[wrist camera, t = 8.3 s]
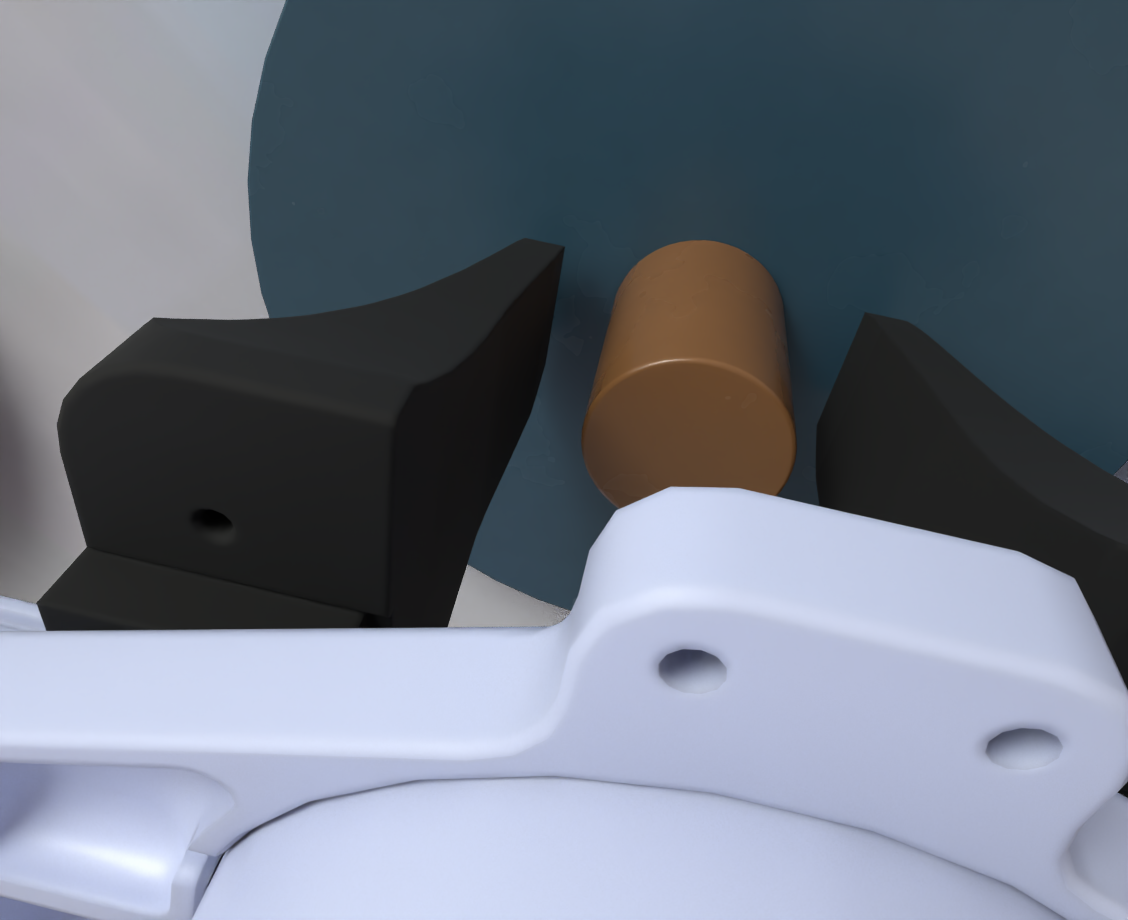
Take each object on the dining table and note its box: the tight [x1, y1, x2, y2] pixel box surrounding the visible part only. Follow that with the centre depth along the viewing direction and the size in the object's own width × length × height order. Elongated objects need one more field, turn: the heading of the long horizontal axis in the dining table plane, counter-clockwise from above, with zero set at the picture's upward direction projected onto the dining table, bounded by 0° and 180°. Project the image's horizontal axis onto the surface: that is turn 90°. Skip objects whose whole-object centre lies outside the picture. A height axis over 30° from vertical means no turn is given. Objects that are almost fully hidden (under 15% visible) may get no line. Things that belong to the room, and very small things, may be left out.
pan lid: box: [248, 0, 1128, 611], centre depth 12 cm, size 14×14×5 cm
